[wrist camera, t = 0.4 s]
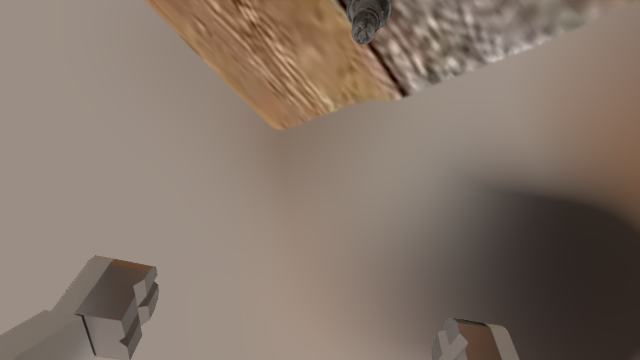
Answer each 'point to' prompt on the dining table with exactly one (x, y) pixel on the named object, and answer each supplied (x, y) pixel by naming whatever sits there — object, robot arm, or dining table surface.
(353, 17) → the chess piece
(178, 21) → the dining table surface
